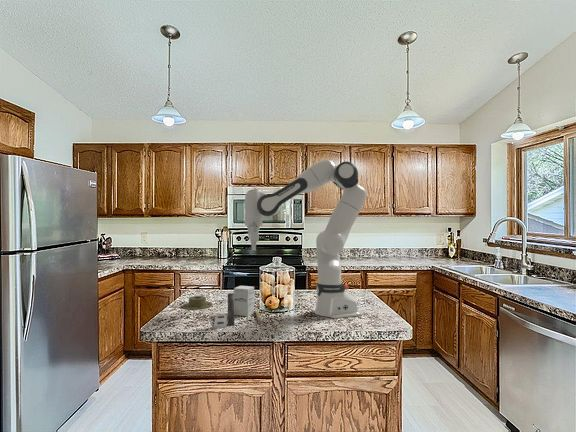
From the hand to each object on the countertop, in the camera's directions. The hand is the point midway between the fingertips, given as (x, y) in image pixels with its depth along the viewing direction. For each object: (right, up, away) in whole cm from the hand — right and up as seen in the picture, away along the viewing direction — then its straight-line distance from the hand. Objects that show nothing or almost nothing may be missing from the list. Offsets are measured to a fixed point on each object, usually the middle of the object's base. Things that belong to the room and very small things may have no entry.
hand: (253, 250), depth 177 cm
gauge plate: (-12, -29, -23) cm, 39 cm away
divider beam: (-3, -29, -16) cm, 33 cm away
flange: (-29, -30, +5) cm, 42 cm away
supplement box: (-4, -29, -10) cm, 31 cm away
